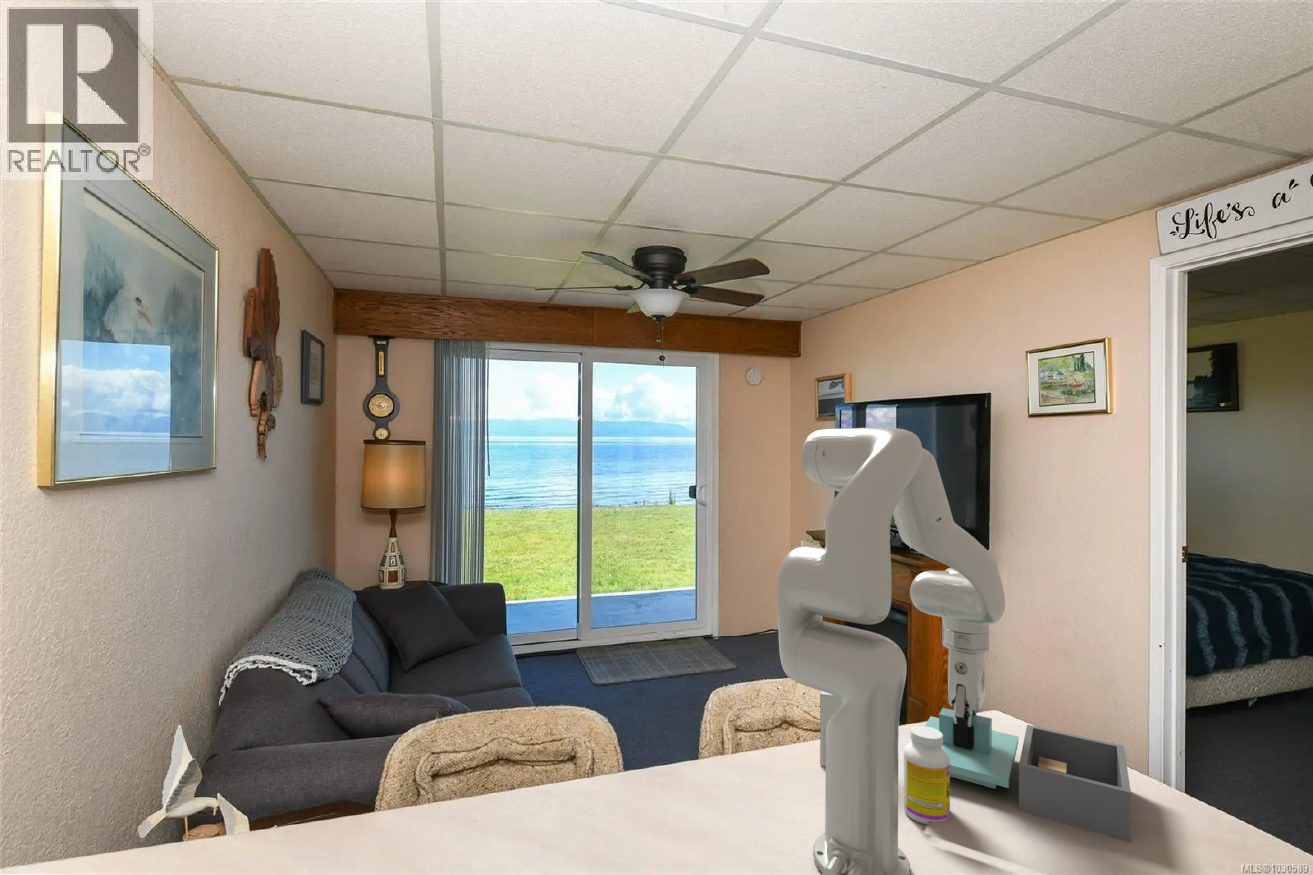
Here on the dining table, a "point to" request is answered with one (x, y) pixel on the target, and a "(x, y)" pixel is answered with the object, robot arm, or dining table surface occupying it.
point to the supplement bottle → (926, 776)
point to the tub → (1076, 782)
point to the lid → (978, 751)
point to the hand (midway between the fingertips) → (965, 741)
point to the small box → (826, 719)
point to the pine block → (1052, 765)
